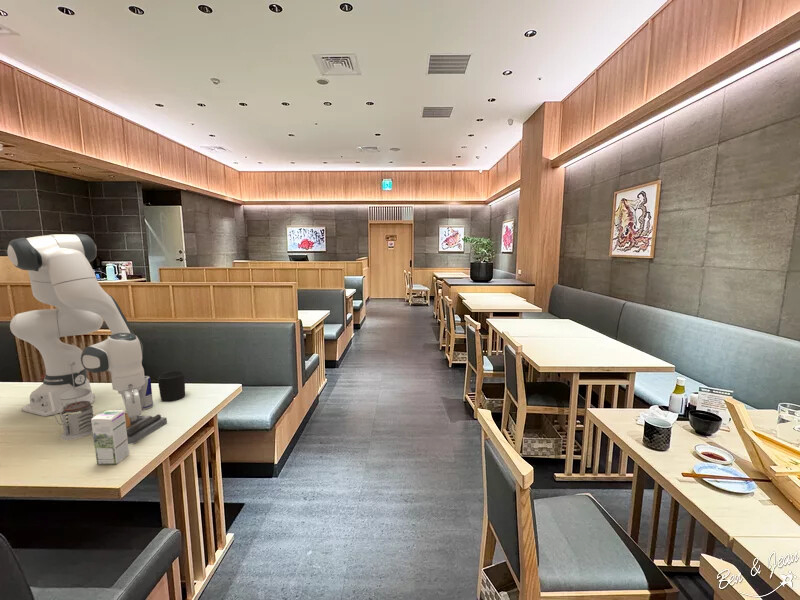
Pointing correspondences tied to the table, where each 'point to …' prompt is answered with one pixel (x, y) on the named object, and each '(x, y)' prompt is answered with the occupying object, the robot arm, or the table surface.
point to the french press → (74, 427)
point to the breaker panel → (147, 430)
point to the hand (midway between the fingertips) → (133, 419)
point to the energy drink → (146, 394)
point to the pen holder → (172, 386)
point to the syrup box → (110, 436)
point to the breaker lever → (127, 421)
